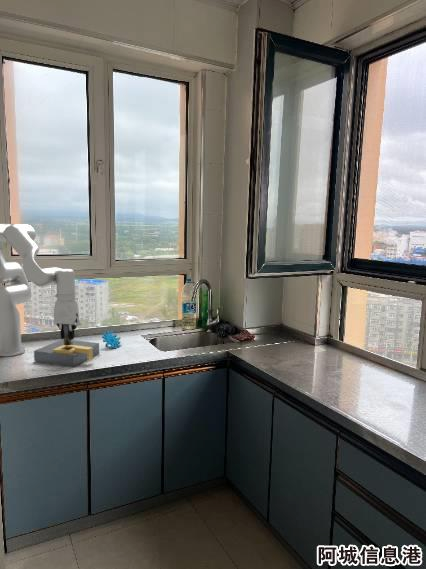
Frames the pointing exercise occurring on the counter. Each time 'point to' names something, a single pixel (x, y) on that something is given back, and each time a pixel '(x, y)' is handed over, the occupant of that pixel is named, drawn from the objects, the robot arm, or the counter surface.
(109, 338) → the gear
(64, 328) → the wedge pin
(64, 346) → the bracket
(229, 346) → the counter surface
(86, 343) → the grey fixture base
